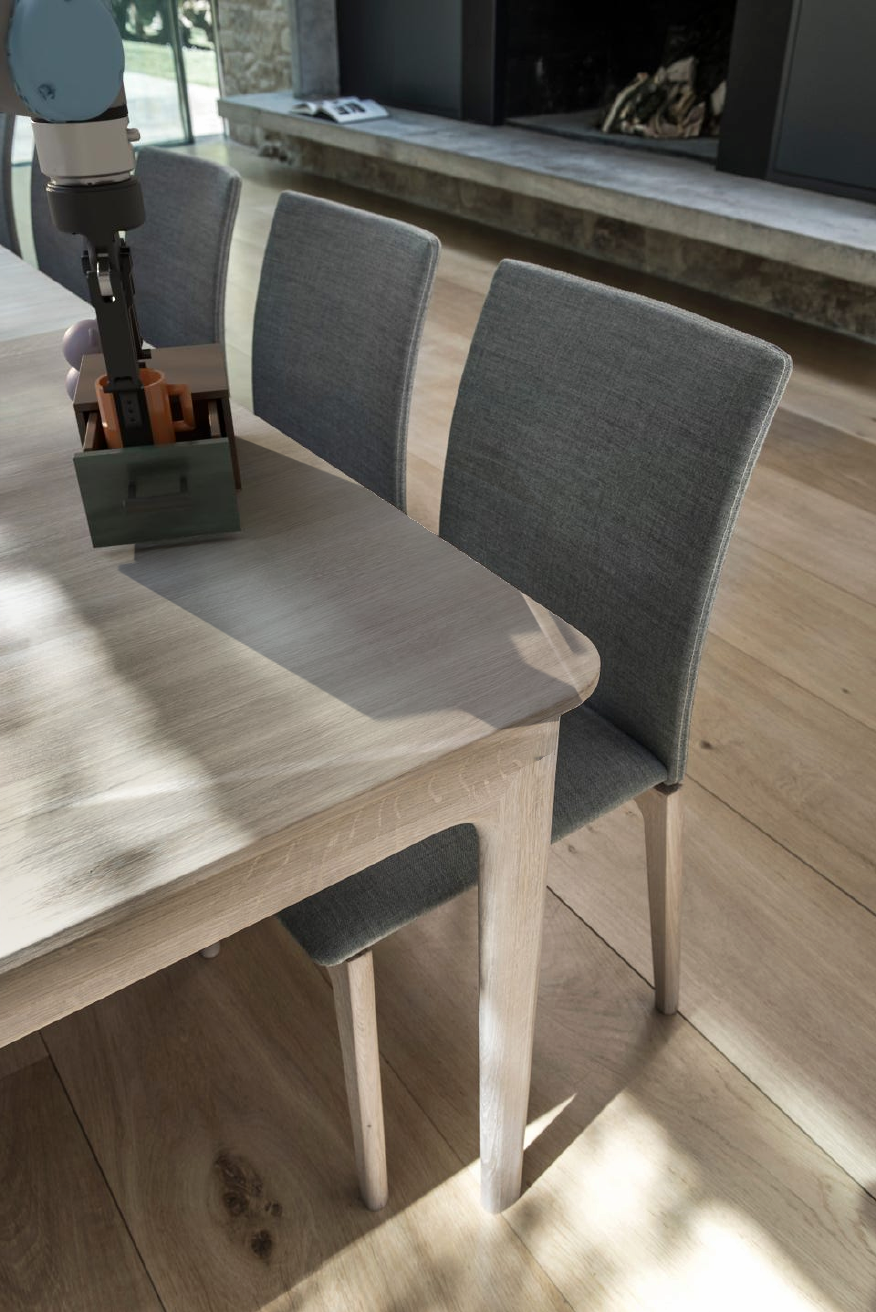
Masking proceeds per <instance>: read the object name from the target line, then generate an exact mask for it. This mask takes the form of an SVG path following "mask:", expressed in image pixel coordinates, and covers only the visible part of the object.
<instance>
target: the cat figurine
mask: <svg viewBox="0 0 876 1312" xmlns="http://www.w3.org/2000/svg"><path fill="white" fill-rule="evenodd" d="M61 348H62V354H63V356H64V359H65V361H66V362H67V363H68V365H70V366H71V368H70V370H69V371H68V373H67V375H66V378H65V388H66V389H65V390H66V393H67V396H68V397H69V399H70V400H71V401H72V402H73V401H74V396H75V392H76V387H77V382H78V378H79V373H80V368H81V364H82V359H83V355H89V354H101V353H103V349H102V344H101V339H100V334H99V329H98V323H97V318H96V317H95V318H94V319H93V318H91V319H90V318H88V319H83V320H79V321H77V322H75V323H73V324H72V325H71V326H70V327H69V328H68V329H66V332H65V333H64V334H63V337H62V342H61Z"/></svg>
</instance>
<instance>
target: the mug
mask: <svg viewBox="0 0 876 1312" xmlns="http://www.w3.org/2000/svg"><path fill="white" fill-rule="evenodd" d="M139 372H140V379H141V380H142V382H143V386H144V388H145V394H146V399H147V405H148V410H149V416H150V422H151V427H152V433H153V438H154V444H155V445H157V444H167V443H176V435H175V432H184V431H192V430H194V429H195V426H196V425H195V419H194V412H193V406H192V400H191V393H190V387H189V385H188V384H187V383H174V384H167V382H166V377H165V374H164V373H163V372H161V371H159V370H155V369H150V368H139ZM103 386H108V376H107V374H105V375H102V376H100V377H99V378H98V379H96V380H95V389H96V394H97V399H98V404H99V408H100V413H101V418H102V423H103V427H104V432H105V437H106V442H107V446H108V449H118V448H123V443H122V438H121V433H120V428H119V423H118V418H117V413H116V408H115V403H114V398H113V393H106V394H104V391H103ZM178 394H179V395H180V401H181V407H182V413H183V419H184V421H174V422H173V417H172V412H171V406H170V400H169V395H178Z"/></svg>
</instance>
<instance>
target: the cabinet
mask: <svg viewBox="0 0 876 1312" xmlns="http://www.w3.org/2000/svg"><path fill="white" fill-rule="evenodd" d="M150 349H151V356H152V359H144V360H139V362H145V363H146V368H150V369H155V370H159V371H161V372H163V373H164V374H165V377H166V382H167V384H174V383H187V384H188V385H189V387H190V393H191V400H192V401H195V400H205V399H216V402H217V409H218V416H219V423H220V429H221V436H222V438H225V437H228V439H229V446H230V453H231V460H232V467H233V474H234V481H235V488H236V491H242V490H243V487H242V481H241V473H240V465H239V457H238V451H237V444H236V437H235V436H236V435H235V429H234V422H233V421H234V420H233V416H232V409H231V408H232V407H231V401H230V393H229V386H228V380H227V373H226V372H227V371H226V366H225V361H224V360H225V359H224V353H223V346H222V343H221V342H216V343H215V342H214V343H205V344H204V343H203V344H193V345H182V346H170V347H169V346H168V347H160V348H150ZM105 374H107V370H106V365H105V360H104V355H103V353H101V354H89V355H83V359H82V364H81V368H80V373H79V378H78V382H77V387H76V392H75V396H74V401H72V407H73V412H74V416H75V422H76V425H77V429H78V434H79V439H80V444H81V448H82V452H84V450H83V448H84V442H85V437H86V431H87V425H88V419H89V413H90V411H91V410H100V408H99V404H98V399H97V394H96V389H95V380H96V379H98V378H99V377H100V376H102V375H105ZM169 400H170V403H174V402H181V401H180V395H179V394H178V395H169Z"/></svg>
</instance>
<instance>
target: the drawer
mask: <svg viewBox="0 0 876 1312" xmlns="http://www.w3.org/2000/svg"><path fill="white" fill-rule="evenodd" d="M170 406H171V412H172V417H173V422H174V421H184V419H183V413H182V407H181V402H174V403H170ZM192 406H193V412H194V419H195V425H196V426H195V429H194V430H192V431H184V432H175V435H176V443H167V444H157V445H148V446H138V447H128V448H118V449H108V446H107V442H106V437H105V432H104V427H103V423H102V418H101V413H100V410H91V411H90V413H89V419H88V425H87V431H86V437H85V442H84V448H82V451H80V452H73V455H72V462H73V466H74V470H75V475H76V480H77V483H78V488H79V493H80V497H81V501H82V506H83V511H84V513H85V517H86V518H85V519H86V523H87V526H88V531H89V535H90V540H91V544H92V547H93V549H101V548H109V547H116V546H126V545H133V544H142V543H150V542H161V541H168V540H177V539H184V538H185V539H186V538H193V537H203V536H209V535H219V534H220V535H221V534H227V533H234V532H235V533H236V532H242V525H241V517H240V510H239V504H238V496H237V490H236V488H235V481H234V474H233V467H232V460H231V453H230V446H229V439H228V437H225V438H222V436H221V429H220V423H219V416H218V409H217V402H216V399H205V400H195V401H192ZM83 450H84V452H83Z"/></svg>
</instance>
